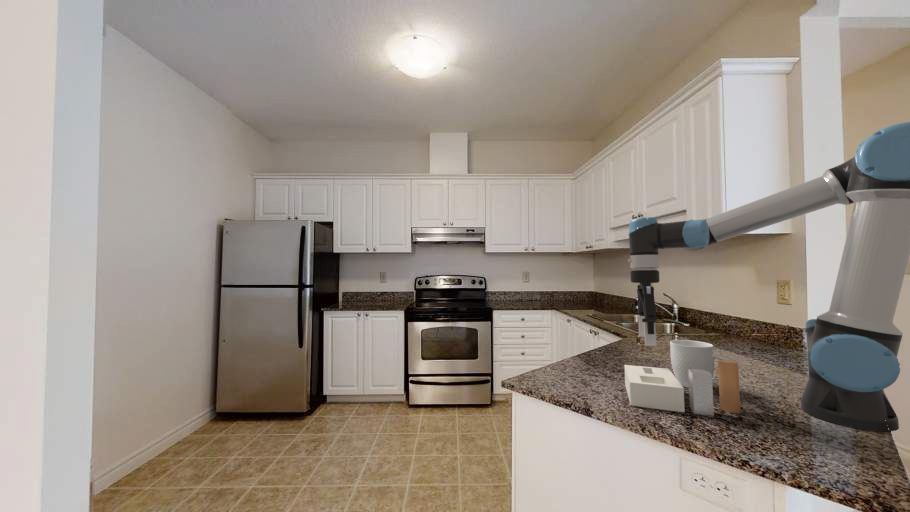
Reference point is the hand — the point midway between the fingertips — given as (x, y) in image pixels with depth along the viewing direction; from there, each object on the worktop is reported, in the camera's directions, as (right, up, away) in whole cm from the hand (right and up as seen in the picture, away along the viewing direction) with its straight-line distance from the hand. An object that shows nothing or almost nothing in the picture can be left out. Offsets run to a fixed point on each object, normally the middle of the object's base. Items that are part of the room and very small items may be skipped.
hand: (647, 341), depth 99 cm
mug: (+17, -15, +3) cm, 23 cm away
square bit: (+5, -14, -15) cm, 21 cm away
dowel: (+13, -14, -14) cm, 24 cm away
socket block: (-2, -15, -5) cm, 15 cm away
